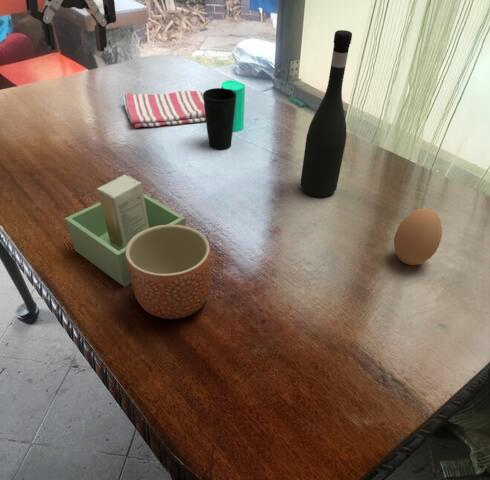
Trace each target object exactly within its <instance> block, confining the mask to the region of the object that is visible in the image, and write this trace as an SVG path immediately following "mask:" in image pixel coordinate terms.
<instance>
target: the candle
mask: <svg viewBox="0 0 490 480" xmlns="http://www.w3.org/2000/svg"><path fill="white" fill-rule="evenodd" d="M221 88H224V89H229V90H232V91H233V92H235V93H236V103H235V113H234V122H233V132H232V133H235V132H237V133H238V132H240V131H242V130H244V127H245V95H246V94H245V93H246V85H245V83H242V82H240V81H237V80H234V77H232V79H228V80H225V81H223V82H221Z"/></svg>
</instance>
